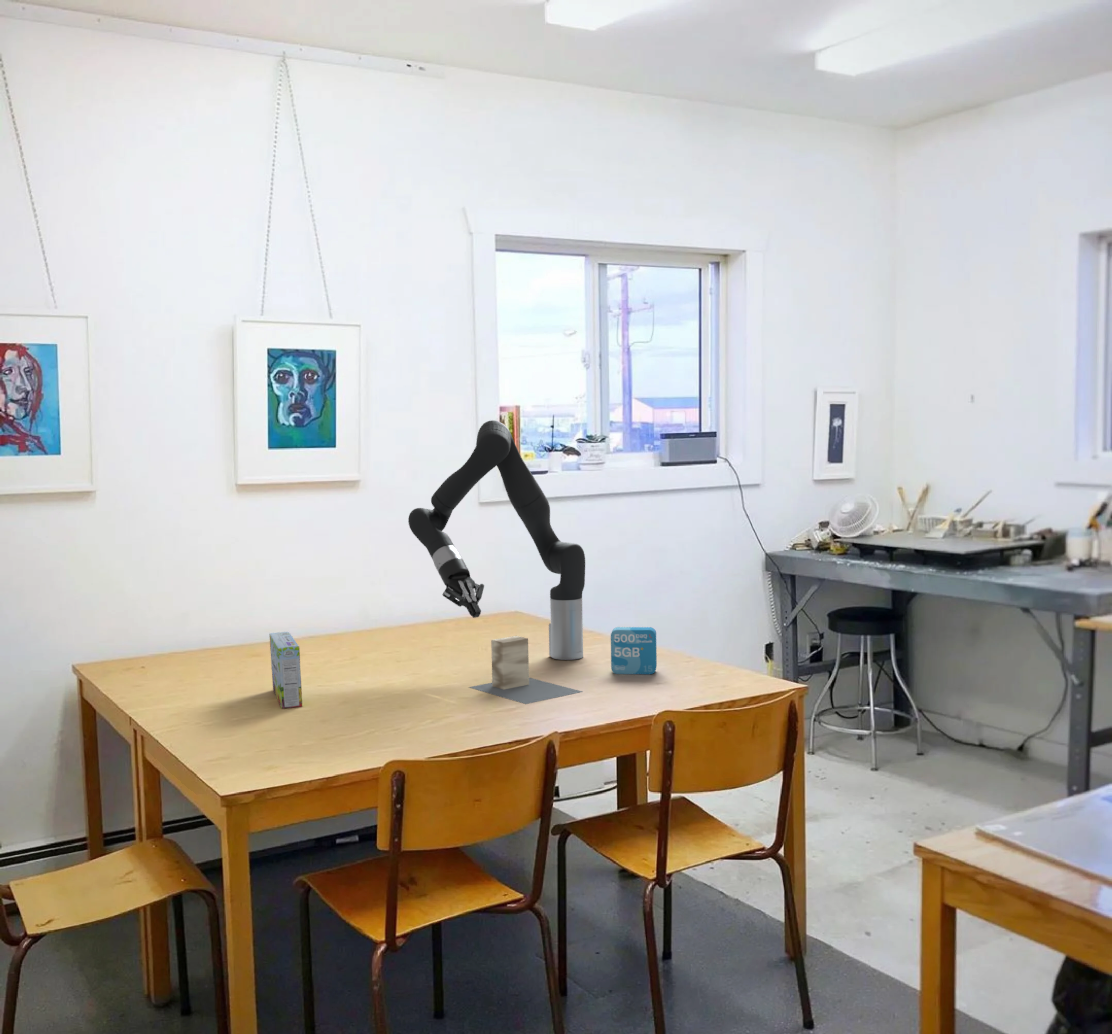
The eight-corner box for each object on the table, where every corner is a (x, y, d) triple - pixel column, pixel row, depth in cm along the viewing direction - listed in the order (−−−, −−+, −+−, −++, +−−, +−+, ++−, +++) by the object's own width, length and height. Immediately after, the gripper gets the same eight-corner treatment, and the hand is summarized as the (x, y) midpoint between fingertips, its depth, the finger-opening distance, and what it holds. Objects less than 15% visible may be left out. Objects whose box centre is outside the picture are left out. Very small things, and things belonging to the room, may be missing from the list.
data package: (611, 674, 290) (610, 629, 289) (612, 670, 295) (611, 626, 294) (656, 674, 289) (655, 630, 288) (656, 671, 293) (656, 627, 292)
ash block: (491, 686, 278) (490, 639, 277) (516, 681, 283) (515, 635, 282) (504, 689, 274) (502, 642, 273) (529, 684, 279) (528, 638, 278)
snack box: (270, 690, 279) (268, 632, 278) (292, 688, 281) (290, 630, 280) (280, 709, 259) (277, 647, 258) (303, 707, 261) (301, 645, 260)
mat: (468, 688, 277) (468, 687, 277) (524, 677, 288) (524, 676, 288) (526, 705, 259) (526, 704, 258) (583, 692, 270) (583, 691, 270)
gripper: (435, 559, 290) (462, 609, 281) (475, 555, 298) (503, 604, 290) (424, 577, 294) (451, 627, 286) (465, 572, 303) (491, 621, 294)
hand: (477, 615), depth 288 cm, fingers closed
